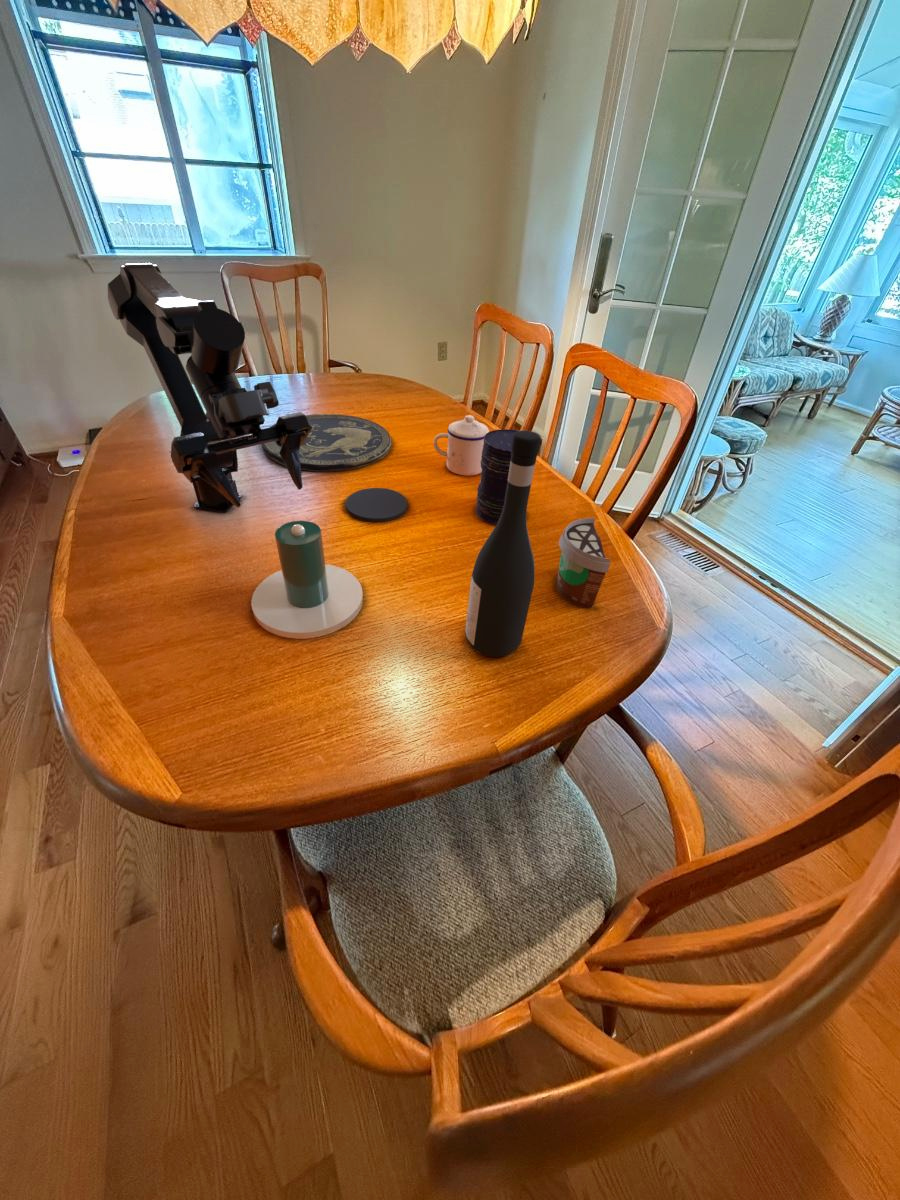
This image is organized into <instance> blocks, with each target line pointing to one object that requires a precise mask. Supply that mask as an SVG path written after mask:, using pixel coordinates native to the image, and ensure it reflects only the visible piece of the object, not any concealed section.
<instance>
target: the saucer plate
mask: <svg viewBox="0 0 900 1200" xmlns="http://www.w3.org/2000/svg"><path fill="white" fill-rule="evenodd" d="M325 566H326V575H327V583H328V591H329V595H328V598H327V599H326V601H325V602H323V603H322V604H320V605H318V606H316V607H312V608H299V607H295V606H293V605H291V604H290V603H289V601H288V599H287V595H286V590H285V585H284V579H283V574H282V569H280V570H278V571H275V572H274V573H272V574H270V575H268V576H267V577H266V578H264V579H263V580H262V581H261V582H260V583H259V584H258V585H257V586H256V588H255V589H254V591H253V593H252V596H251V601H250V606H251V610H252V614H253V617H254V619H255V621H256V622H257V623H258V625H259V626H260V627H261V628H263V629H264V630H266V631H267V632H268V633H271V634H273V635H275V636H279V637H283V638H288V639H295V640H296V639H297V640H298V639H301V640H303V639H305V640H306V639H314V638H319V637H324V636H326V635H330V634H332V633H335V632H337V631H339V630H341V629H343V628H344V627H346V626H347V625H349V624H350V623H352V622H353V621H354V619H355V618H356V617H357V616H358V615H359V613H360V611H361V609H362V608H363V601H364V594H363V586H362V585H361V583H360V581H359V580H358V578H357V577H356V576H355V575H354V574H352V573H351V572H350V571H348V570H346V569H344V568H342V567H339V566H337V565H333V564H326V563H325Z"/></svg>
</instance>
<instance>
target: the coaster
mask: <svg viewBox="0 0 900 1200" xmlns="http://www.w3.org/2000/svg"><path fill="white" fill-rule="evenodd" d="M408 503H409V502H408V499H407V498H406V497H405V496H404V495H403V494H402V493H401V492H399V491H397V490H394V489H391V488H384V487H369V488H363V489H359V490H357V491H355V492H353V493H350V495H349V496H348V497H346V499H345V503H344V504H345V510H346V512H347V513H348V514H349V515H350V516H351V517H353V518H355V519H357V520H360V521H363V522H368V523H384V522H390V521H394V520H397V519H399V518H400V517H403V515H405V513H407V511H408V507H409V506H408Z"/></svg>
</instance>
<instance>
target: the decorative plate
mask: <svg viewBox="0 0 900 1200" xmlns="http://www.w3.org/2000/svg"><path fill="white" fill-rule="evenodd" d="M305 415H306V416H307V417H308V419H309V421H310V423H311V425H312V427H313V428H312V429H311V431H310V433H309V435H308V436H307V438H306V440H305V442H304V443H303V444H302V445H301V447H300V451H299V458H300V468H301V471H307V472H308V471H309V472H324V473H325V472H329V473H331V472H342V471H350V470H355V469H359V468H363V467H367V466H370V465H372V464H374V463H377V462H378V461H380V460H382V459H383V458H385V457H386V456H387V455H388V454H389V453H390V451H391V449H392V438H391V435H390V434H389V431H388V430H387V429H386V428H384V426H382V425H380V424H378V423H377V422H374V421H372V420H370V419H367V418H364V417H360V416H354V415H348V414H339V413H314V414H313V413H312V414H305ZM275 425H276V423H274V424H273V425H271V426H269V427H268V428H270V427H275ZM260 447H261V449H262V451H263V454H265V455H266V456H267V457H268V458H269V459H270V460H272V461H274V462H276V463H277V464H279V465H283V466H285V464H284V462H283V460H282V458H281V456H280V453H279V452H280V450H281V448H282V447H280V446H278V445H277V443H276V441H273V442H269V443H264V444H260Z"/></svg>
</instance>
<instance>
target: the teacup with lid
mask: <svg viewBox="0 0 900 1200" xmlns="http://www.w3.org/2000/svg"><path fill="white" fill-rule="evenodd" d="M488 432H490V430H489V427H488V426H487V425H486V424H484V423H482V422H479V421H478V420H476V419H475V416H474V415H471V414H467V415H465V417H464V418H463V419H461V420H456V421H454V422H451V423H450V424H449V425H448V428H447V433H446V432H441V433H438V434H437V435H436V436H434V439H433V447H434V450H435V451H436V452H437V454H438V455H440V456H443V457H446V469H448V470H449V471H450V472H451V473H453V474H456V475H458V476H459V475H460V476H466V477H467V476H468V477H469V476H477V475H479V474H481V472H482V468H481V459H482V457H481V456H482V449H483V444H484V436H485V434H487V433H488ZM441 438H445V439H447V450H446V451H443V450H441V449H440V447H439V445H438V440H439V439H441Z"/></svg>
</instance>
